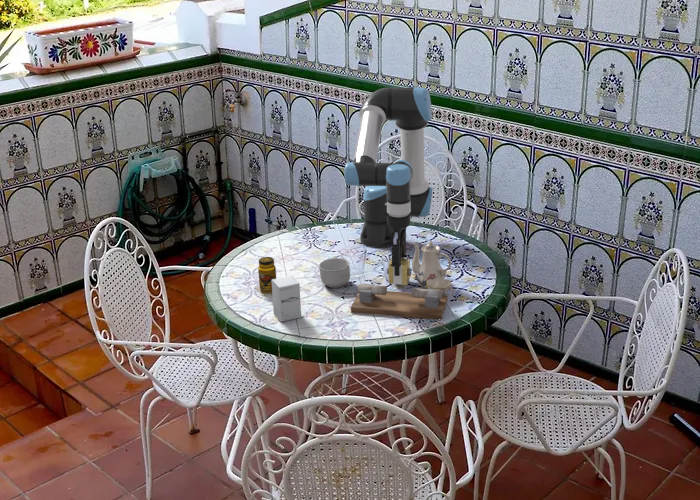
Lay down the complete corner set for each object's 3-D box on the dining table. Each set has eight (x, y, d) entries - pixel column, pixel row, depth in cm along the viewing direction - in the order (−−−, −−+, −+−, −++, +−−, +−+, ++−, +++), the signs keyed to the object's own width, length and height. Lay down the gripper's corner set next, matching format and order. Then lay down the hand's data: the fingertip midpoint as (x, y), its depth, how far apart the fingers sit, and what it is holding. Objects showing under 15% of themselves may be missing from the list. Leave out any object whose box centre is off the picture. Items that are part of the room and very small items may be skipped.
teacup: (346, 291, 293) (346, 270, 290) (316, 289, 295) (315, 268, 292) (354, 274, 305) (354, 254, 302) (325, 273, 307) (324, 253, 304)
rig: (360, 294, 290) (360, 275, 288) (447, 301, 283) (447, 282, 281) (350, 312, 278) (350, 293, 275) (441, 320, 271) (441, 300, 268)
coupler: (389, 277, 280) (389, 257, 277) (412, 278, 278) (412, 259, 275) (386, 283, 275) (386, 263, 273) (409, 285, 274) (409, 265, 271)
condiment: (262, 296, 291) (259, 264, 287) (254, 287, 299) (251, 256, 294) (282, 292, 294) (280, 260, 290) (273, 282, 301) (271, 252, 297)
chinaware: (379, 288, 298) (375, 247, 290) (406, 268, 309) (403, 227, 301) (447, 308, 282) (445, 265, 274) (472, 286, 293) (471, 244, 285)
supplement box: (280, 322, 273) (278, 287, 268) (273, 313, 279) (270, 278, 274) (302, 318, 275) (299, 283, 271) (294, 308, 282) (292, 274, 277)
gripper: (392, 203, 277) (393, 268, 286) (381, 222, 261) (382, 290, 269) (415, 204, 275) (415, 269, 284) (405, 224, 259) (405, 292, 268)
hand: (399, 279), depth 277 cm, fingers closed on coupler, 5 cm apart
